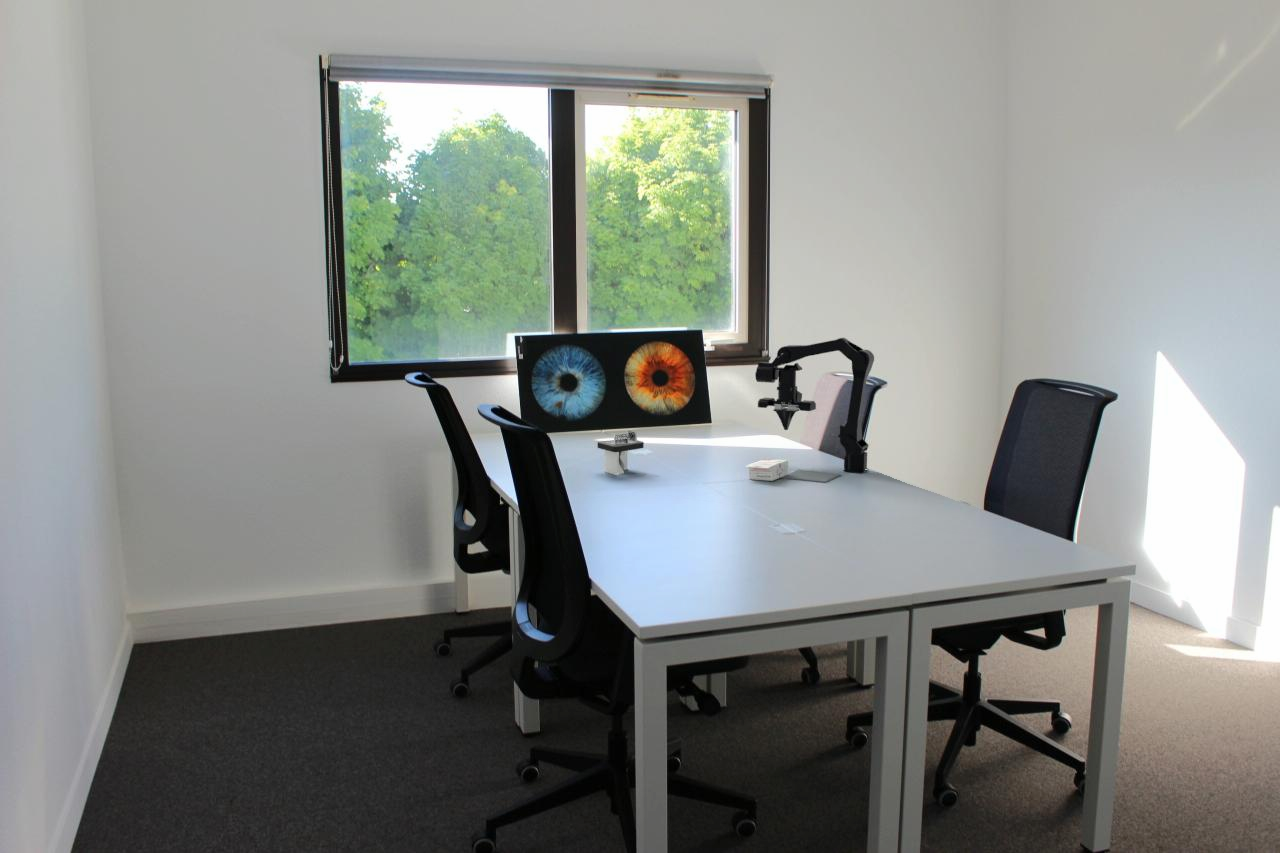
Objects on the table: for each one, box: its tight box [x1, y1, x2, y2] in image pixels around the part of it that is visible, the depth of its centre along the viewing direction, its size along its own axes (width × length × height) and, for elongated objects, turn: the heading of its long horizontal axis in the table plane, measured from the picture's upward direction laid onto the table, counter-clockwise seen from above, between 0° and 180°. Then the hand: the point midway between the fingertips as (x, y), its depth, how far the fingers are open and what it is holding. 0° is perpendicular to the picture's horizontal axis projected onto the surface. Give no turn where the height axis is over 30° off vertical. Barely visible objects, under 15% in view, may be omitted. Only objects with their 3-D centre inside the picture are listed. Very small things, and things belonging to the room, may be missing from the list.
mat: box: [781, 469, 841, 484], centre depth 347 cm, size 14×14×1 cm
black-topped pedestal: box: [597, 430, 645, 476], centre depth 353 cm, size 28×26×13 cm
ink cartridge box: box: [745, 458, 790, 482], centre depth 344 cm, size 9×5×15 cm
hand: (786, 429), depth 364 cm, fingers closed
